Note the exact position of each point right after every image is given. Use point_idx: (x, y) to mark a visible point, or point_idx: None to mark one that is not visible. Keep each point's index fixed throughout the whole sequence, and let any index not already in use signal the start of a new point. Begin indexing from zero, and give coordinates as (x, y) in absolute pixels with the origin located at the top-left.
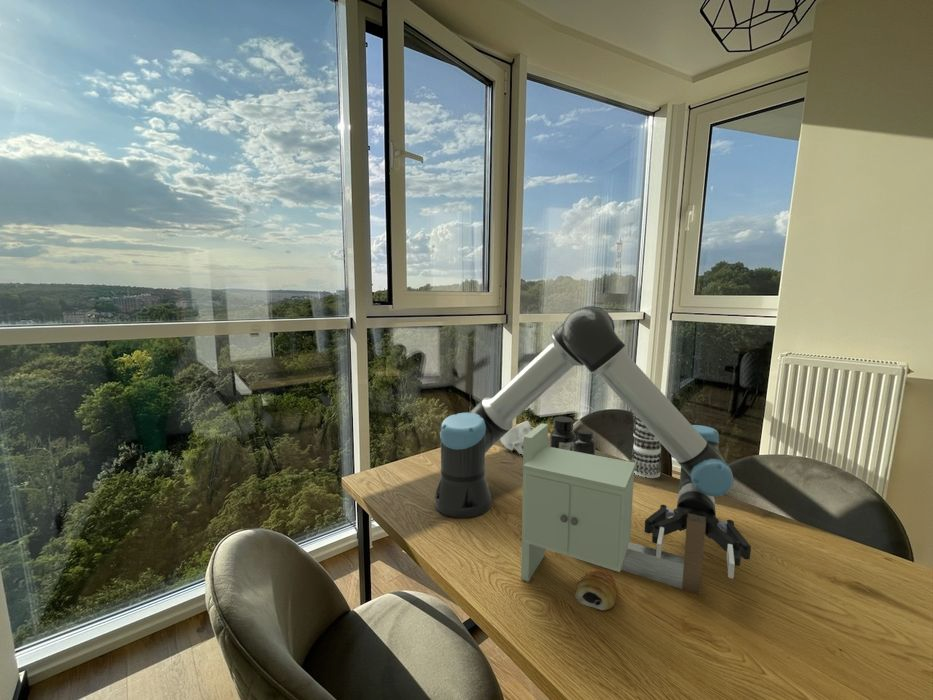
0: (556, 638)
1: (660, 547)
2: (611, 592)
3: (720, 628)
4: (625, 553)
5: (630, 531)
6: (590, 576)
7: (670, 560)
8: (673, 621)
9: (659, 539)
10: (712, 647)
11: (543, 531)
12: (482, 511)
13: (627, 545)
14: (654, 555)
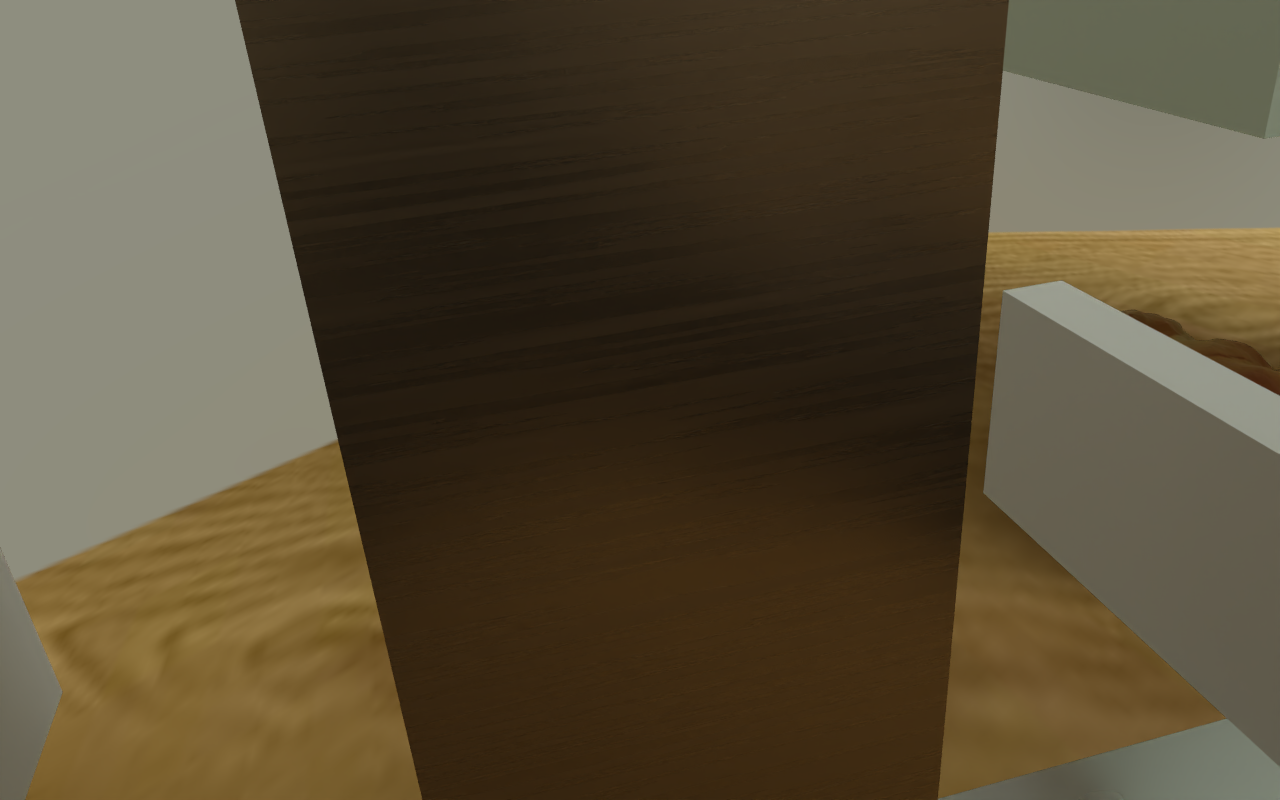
0: (993, 290)
1: (1004, 335)
2: None
3: (300, 796)
4: (1028, 66)
5: (1268, 13)
6: (1250, 365)
7: (980, 788)
8: None
9: (1132, 336)
10: (365, 607)
11: None
12: None
13: (1102, 60)
14: (1224, 742)
